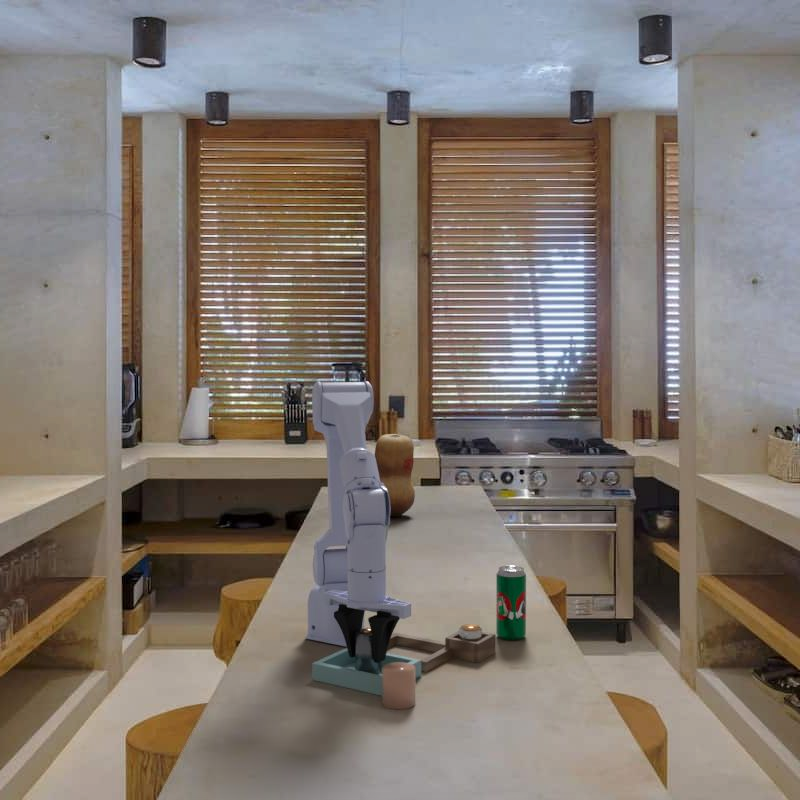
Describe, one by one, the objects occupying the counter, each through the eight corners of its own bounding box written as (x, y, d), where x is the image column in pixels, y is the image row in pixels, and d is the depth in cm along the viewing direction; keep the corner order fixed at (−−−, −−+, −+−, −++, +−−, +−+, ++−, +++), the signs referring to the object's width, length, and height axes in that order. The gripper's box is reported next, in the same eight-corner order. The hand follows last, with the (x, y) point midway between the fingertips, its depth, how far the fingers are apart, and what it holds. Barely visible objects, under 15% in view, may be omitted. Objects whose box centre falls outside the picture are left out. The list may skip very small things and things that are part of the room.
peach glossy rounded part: (376, 704, 128) (375, 669, 128) (394, 694, 132) (393, 660, 132) (404, 711, 126) (404, 675, 126) (421, 700, 130) (421, 665, 130)
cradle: (359, 658, 148) (359, 648, 148) (394, 641, 157) (394, 632, 157) (426, 671, 142) (426, 662, 142) (458, 653, 150) (458, 644, 150)
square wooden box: (445, 656, 149) (445, 637, 149) (463, 646, 154) (463, 628, 154) (478, 662, 146) (478, 644, 146) (495, 652, 151) (495, 634, 151)
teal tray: (312, 679, 138) (312, 663, 138) (351, 661, 147) (351, 645, 147) (384, 696, 132) (384, 679, 131) (421, 676, 140) (421, 659, 140)
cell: (349, 672, 139) (349, 630, 139) (364, 665, 142) (365, 624, 142) (371, 677, 137) (371, 634, 136) (386, 670, 140) (386, 628, 140)
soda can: (523, 632, 162) (523, 564, 161) (528, 641, 157) (528, 571, 156) (494, 632, 162) (494, 564, 161) (498, 641, 157) (498, 571, 156)
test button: (455, 644, 149) (455, 627, 149) (466, 639, 153) (466, 622, 152) (475, 648, 148) (475, 631, 147) (485, 642, 151) (485, 625, 150)
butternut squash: (398, 522, 271) (398, 437, 270) (361, 517, 278) (361, 435, 277) (423, 515, 283) (423, 433, 282) (387, 511, 290) (387, 432, 289)
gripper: (311, 567, 139) (312, 657, 140) (392, 580, 131) (393, 674, 132) (339, 559, 145) (340, 644, 146) (418, 570, 137) (418, 660, 138)
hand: (367, 658), depth 139 cm, fingers closed on cell, 4 cm apart
